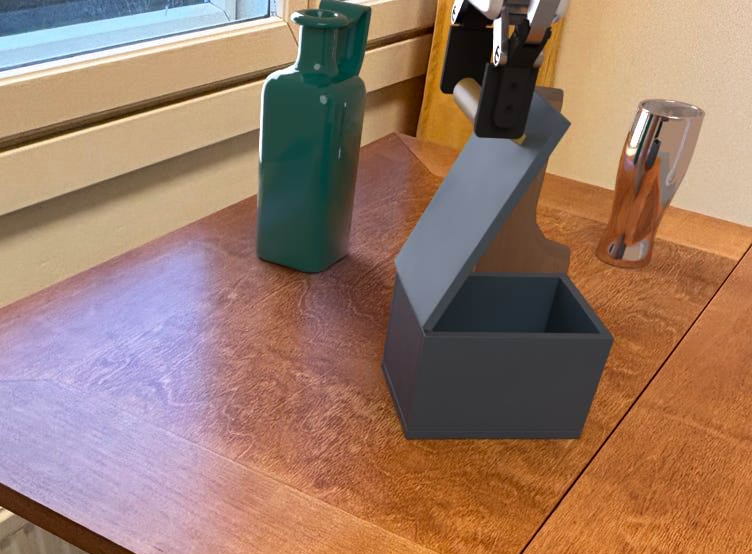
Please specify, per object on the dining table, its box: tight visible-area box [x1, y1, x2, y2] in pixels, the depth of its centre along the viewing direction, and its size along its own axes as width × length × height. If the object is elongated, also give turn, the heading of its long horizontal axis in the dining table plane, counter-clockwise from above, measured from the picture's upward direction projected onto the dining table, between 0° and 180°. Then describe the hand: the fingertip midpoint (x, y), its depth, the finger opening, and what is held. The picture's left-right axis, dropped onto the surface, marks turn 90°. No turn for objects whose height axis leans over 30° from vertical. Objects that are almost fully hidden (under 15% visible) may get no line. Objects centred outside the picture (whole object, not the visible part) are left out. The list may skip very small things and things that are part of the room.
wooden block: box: [473, 85, 571, 275], centre depth 86 cm, size 9×4×18 cm, turn 75°
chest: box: [380, 270, 615, 440], centre depth 73 cm, size 15×12×9 cm
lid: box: [393, 78, 572, 332], centre depth 64 cm, size 15×12×5 cm
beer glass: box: [595, 98, 706, 269], centre depth 95 cm, size 7×7×15 cm
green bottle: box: [254, 0, 373, 274], centre depth 89 cm, size 10×8×22 cm
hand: (478, 114), depth 60 cm, fingers open, 9 cm apart
